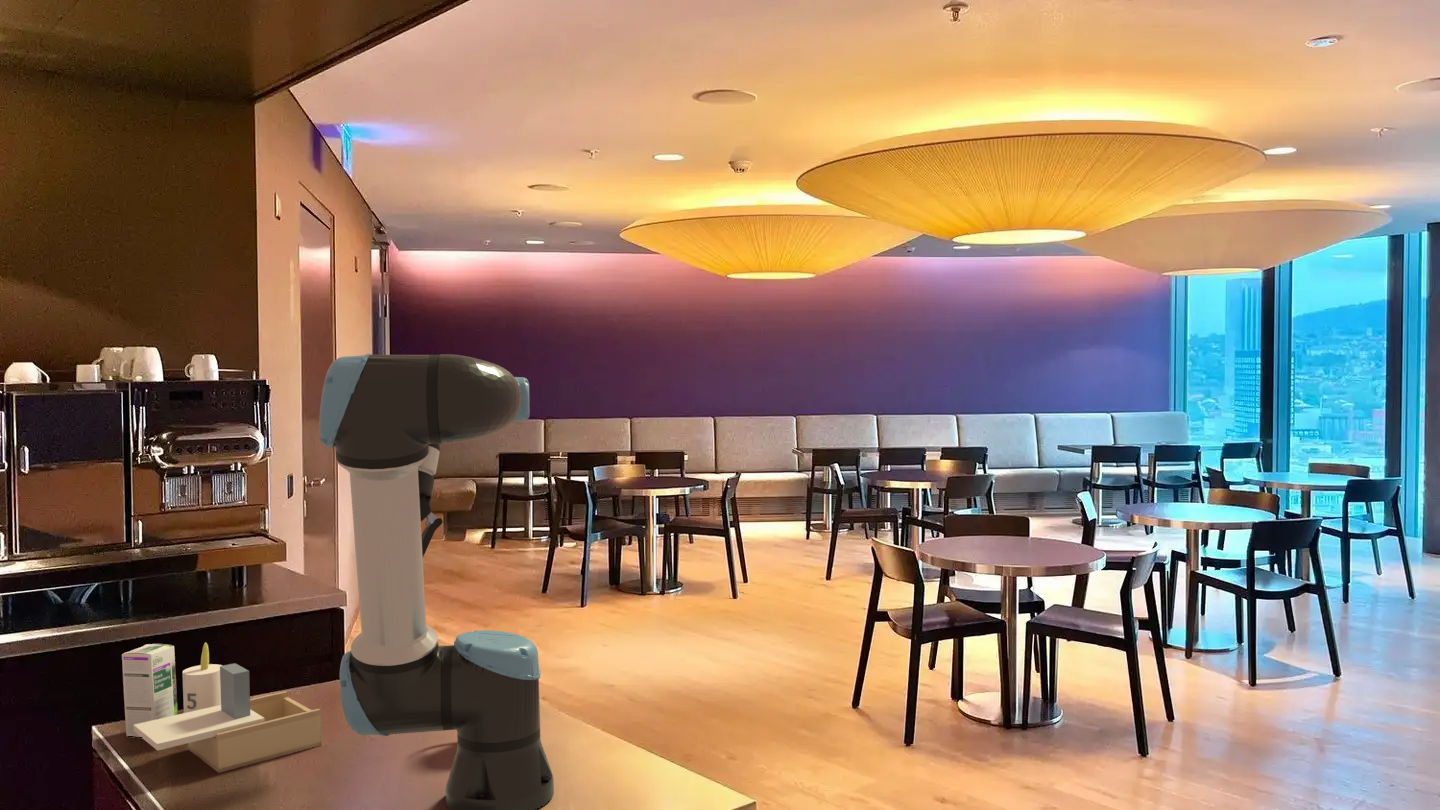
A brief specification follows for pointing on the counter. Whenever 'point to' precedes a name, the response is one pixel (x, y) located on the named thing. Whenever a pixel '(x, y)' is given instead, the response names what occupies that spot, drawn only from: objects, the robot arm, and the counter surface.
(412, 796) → the counter surface
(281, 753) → the box
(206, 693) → the candle
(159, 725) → the lid
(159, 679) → the syrup box
